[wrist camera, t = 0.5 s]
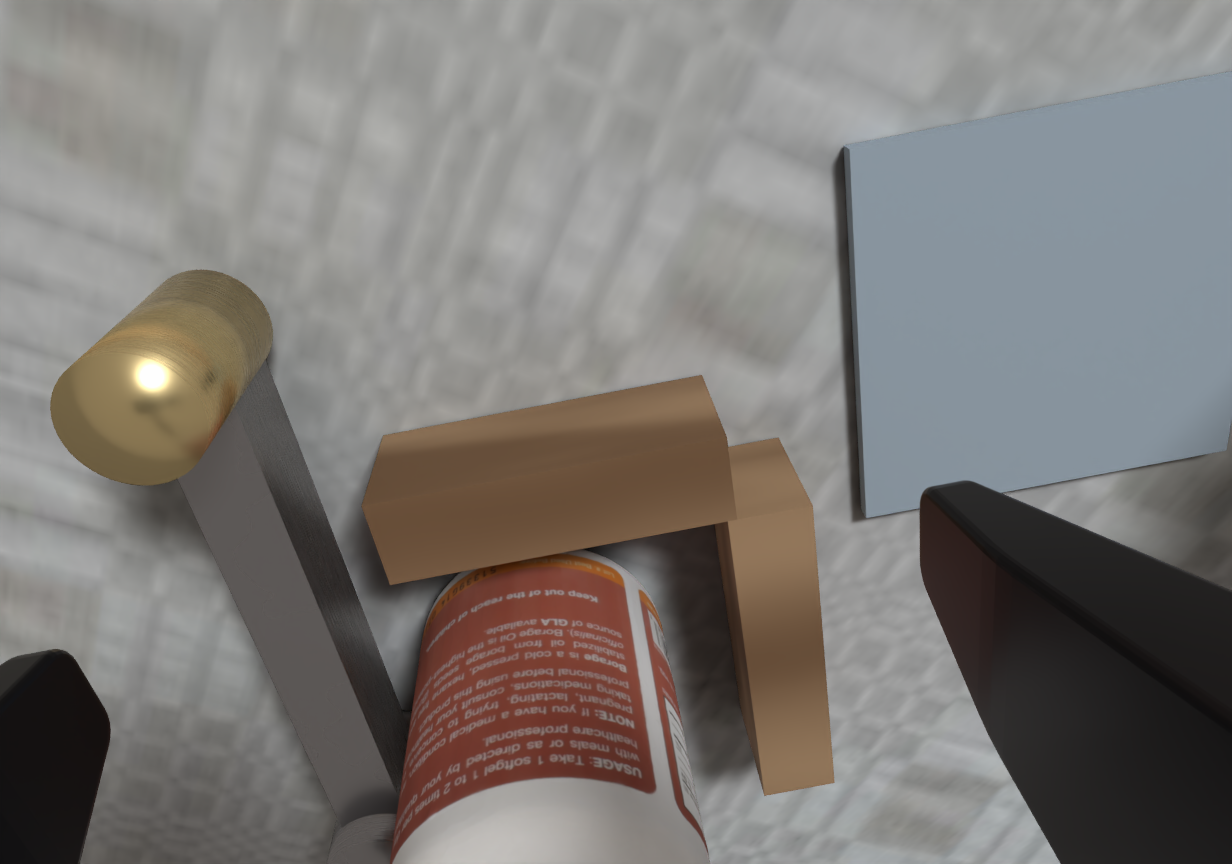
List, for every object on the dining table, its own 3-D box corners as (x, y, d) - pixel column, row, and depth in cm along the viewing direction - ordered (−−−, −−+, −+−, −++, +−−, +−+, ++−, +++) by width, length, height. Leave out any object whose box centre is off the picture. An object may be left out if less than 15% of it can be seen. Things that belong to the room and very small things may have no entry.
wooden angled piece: (806, 729, 26) (837, 816, 24) (358, 813, 26) (339, 909, 24) (771, 361, 21) (805, 422, 18) (202, 469, 21) (155, 545, 18)
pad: (1216, 442, 23) (1226, 450, 22) (861, 509, 23) (866, 518, 22) (1279, 62, 18) (1294, 63, 18) (843, 145, 19) (849, 149, 18)
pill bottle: (374, 642, 24) (264, 1133, 14) (533, 489, 22) (535, 928, 12) (552, 751, 26) (565, 1236, 16) (709, 621, 24) (829, 1077, 14)
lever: (461, 806, 25) (449, 952, 22) (363, 824, 25) (335, 973, 22) (257, 257, 18) (186, 338, 14) (118, 283, 18) (10, 371, 14)
